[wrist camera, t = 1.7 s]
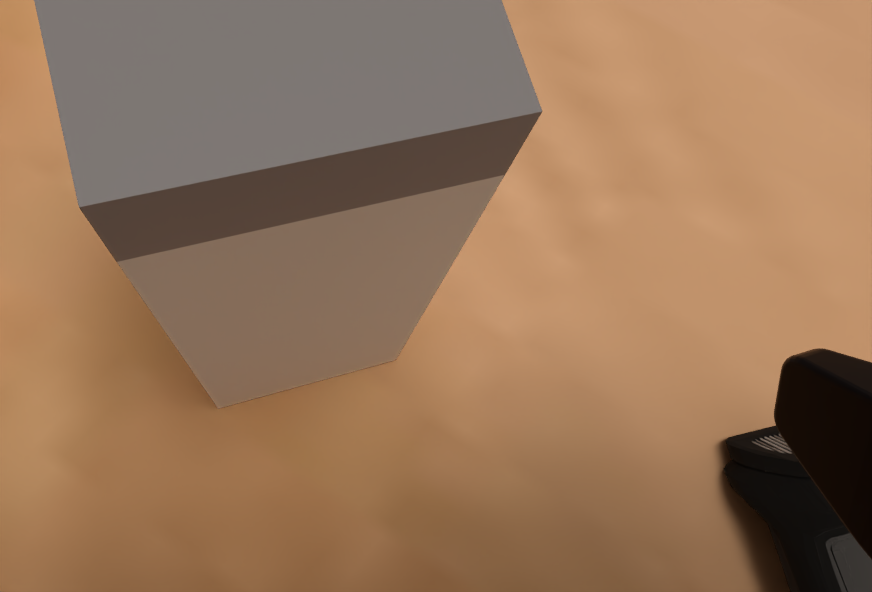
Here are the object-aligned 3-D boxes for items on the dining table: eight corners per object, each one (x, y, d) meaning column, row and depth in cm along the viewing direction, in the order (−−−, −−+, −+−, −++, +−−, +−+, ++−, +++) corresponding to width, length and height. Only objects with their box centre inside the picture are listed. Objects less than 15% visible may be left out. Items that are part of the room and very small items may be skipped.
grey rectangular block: (395, 360, 20) (542, 111, 8) (218, 408, 19) (78, 206, 7) (348, 199, 21) (414, -236, 9) (176, 237, 20) (-10, -197, 8)
